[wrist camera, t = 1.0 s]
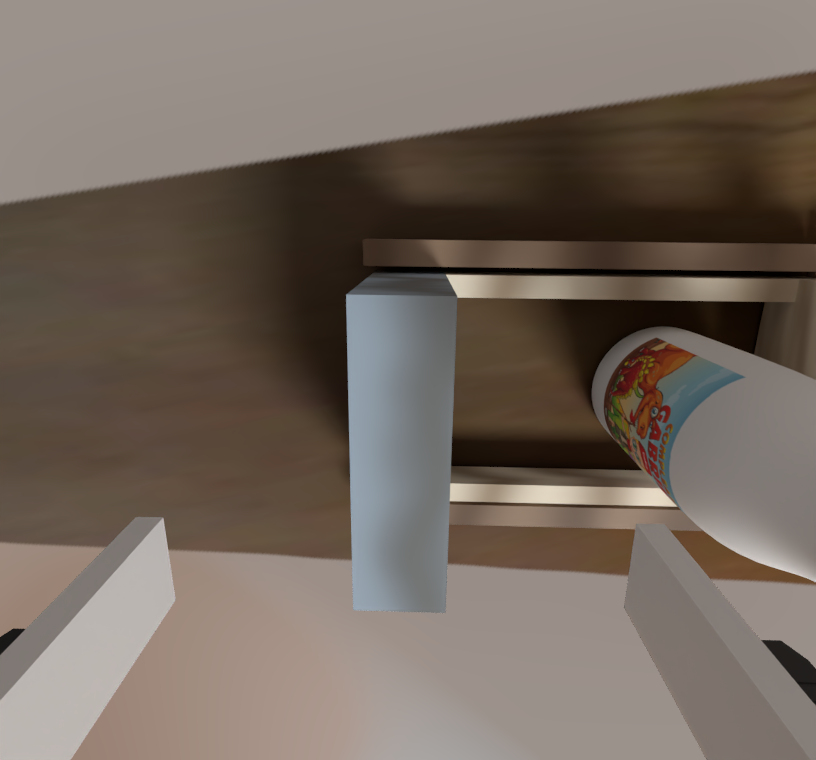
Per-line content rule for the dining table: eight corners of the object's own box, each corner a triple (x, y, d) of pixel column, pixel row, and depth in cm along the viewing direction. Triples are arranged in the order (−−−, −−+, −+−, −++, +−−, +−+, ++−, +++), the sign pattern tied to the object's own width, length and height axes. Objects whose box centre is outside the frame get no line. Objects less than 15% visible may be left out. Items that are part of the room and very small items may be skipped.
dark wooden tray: (370, 502, 35) (366, 522, 32) (367, 238, 30) (362, 239, 27) (772, 512, 34) (798, 533, 32) (835, 244, 29) (871, 245, 27)
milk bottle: (679, 298, 30) (1128, 414, 11) (736, 401, 32) (1212, 658, 13) (565, 369, 32) (785, 581, 12) (624, 464, 33) (900, 782, 14)
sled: (377, 481, 34) (353, 610, 22) (375, 270, 30) (346, 294, 18) (754, 489, 33) (931, 627, 22) (801, 276, 29) (1047, 304, 18)
